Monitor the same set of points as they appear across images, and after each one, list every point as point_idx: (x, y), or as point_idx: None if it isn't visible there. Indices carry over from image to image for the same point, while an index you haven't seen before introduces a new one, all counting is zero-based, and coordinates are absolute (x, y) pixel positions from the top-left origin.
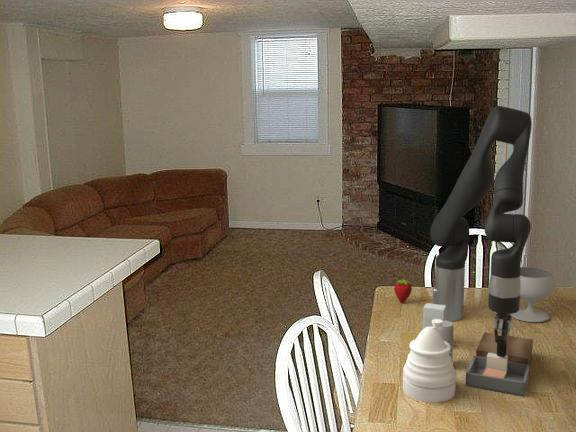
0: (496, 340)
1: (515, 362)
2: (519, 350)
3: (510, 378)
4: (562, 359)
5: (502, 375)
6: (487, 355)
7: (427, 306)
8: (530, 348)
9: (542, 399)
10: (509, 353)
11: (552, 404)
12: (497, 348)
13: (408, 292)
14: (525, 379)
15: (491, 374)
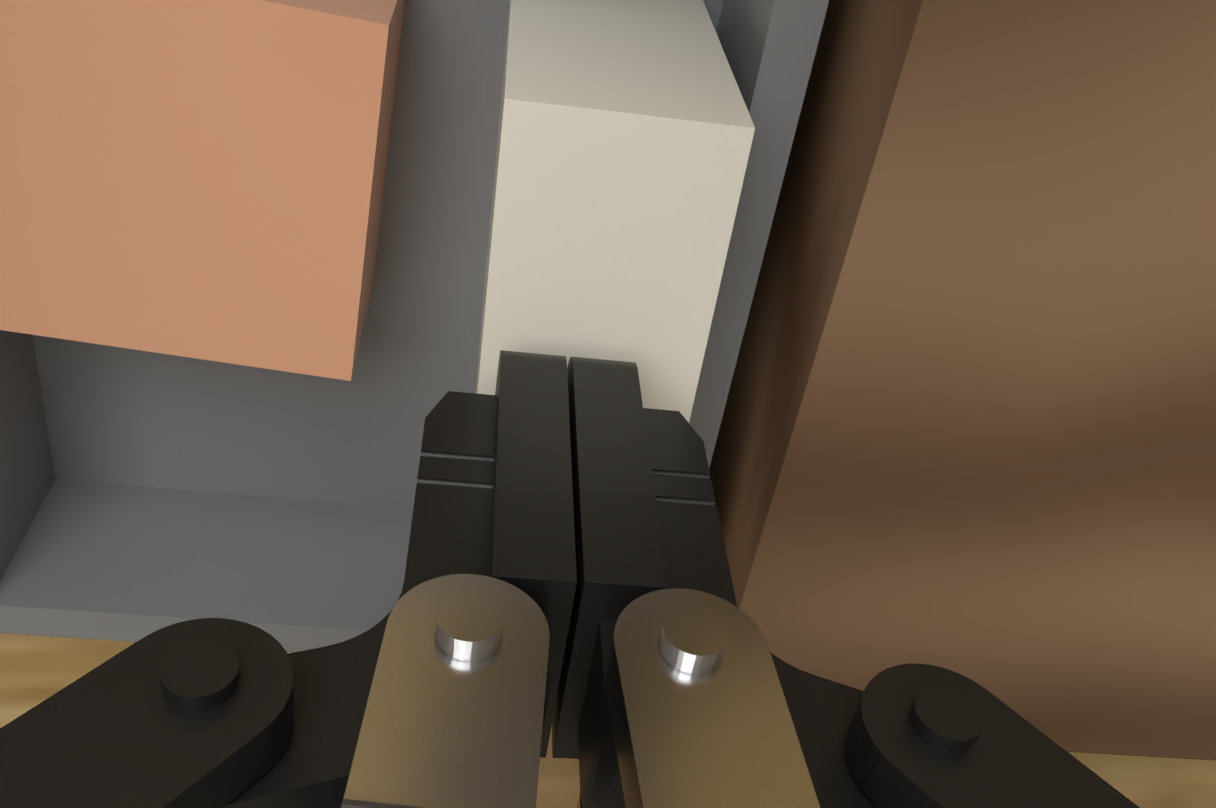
0: (7, 759)
1: (725, 508)
2: (1015, 631)
3: (472, 347)
4: (1186, 801)
5: (151, 321)
6: (563, 114)
7: None
8: (1102, 751)
9: (86, 643)
10: (863, 500)
11: (20, 715)
12: (497, 464)
13: None
14: (100, 634)
15: (92, 132)
